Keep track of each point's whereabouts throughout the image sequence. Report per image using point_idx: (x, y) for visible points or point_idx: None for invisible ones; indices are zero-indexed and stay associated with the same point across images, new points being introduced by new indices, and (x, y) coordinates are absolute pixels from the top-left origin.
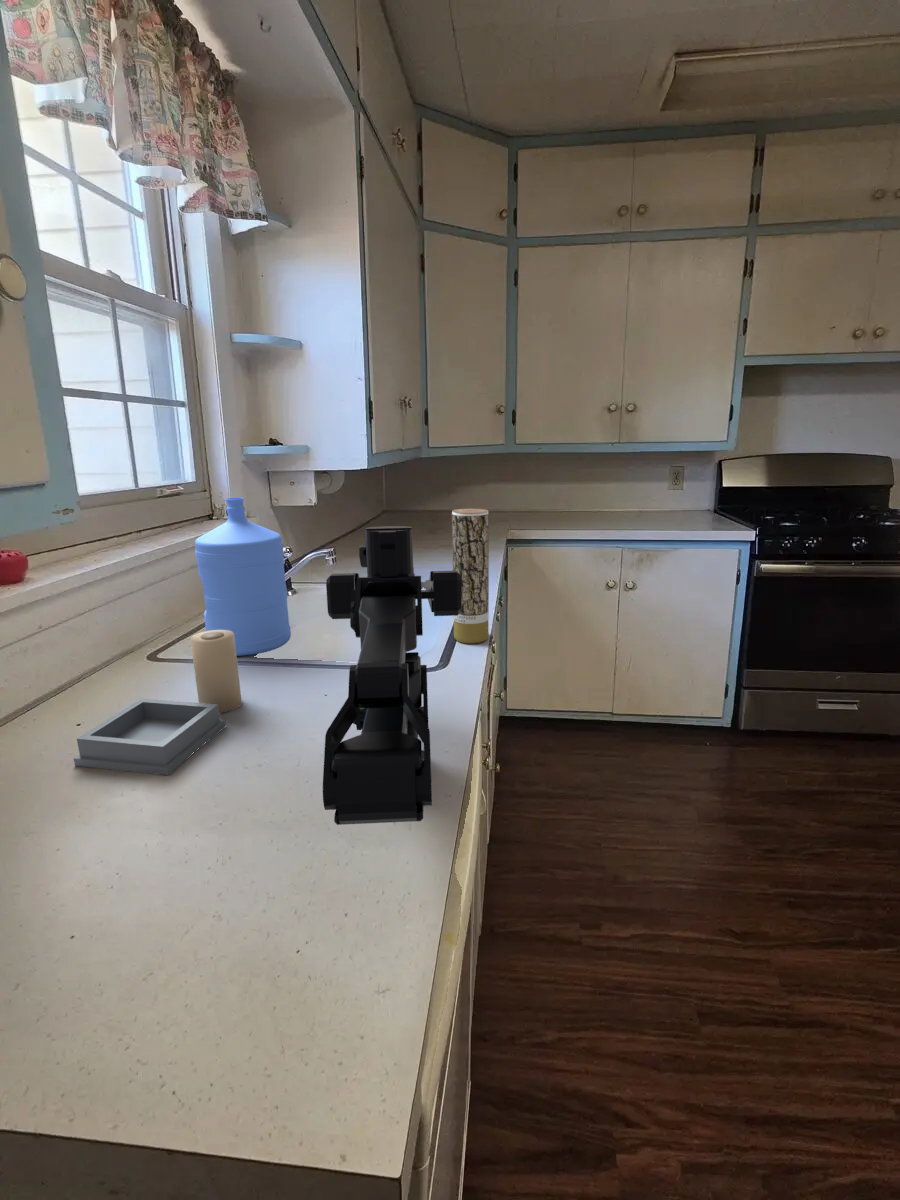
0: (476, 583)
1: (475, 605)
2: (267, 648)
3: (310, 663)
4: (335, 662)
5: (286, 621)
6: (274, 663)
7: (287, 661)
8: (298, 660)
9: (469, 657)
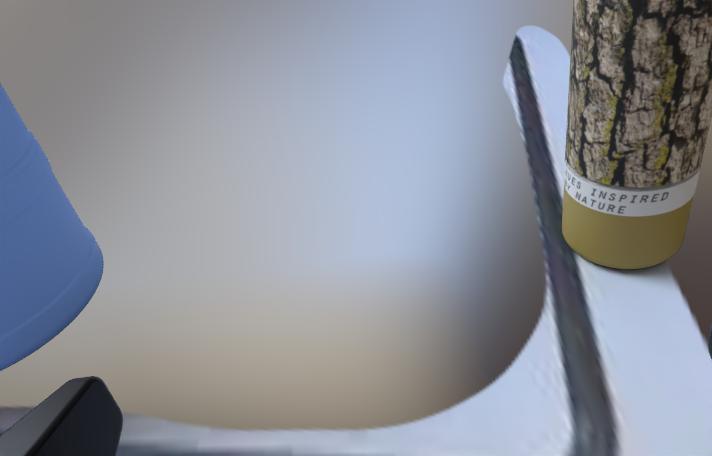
0: (695, 69)
1: (675, 153)
2: (12, 358)
3: None
4: (197, 428)
5: (61, 256)
6: None
7: None
8: None
9: (678, 368)
